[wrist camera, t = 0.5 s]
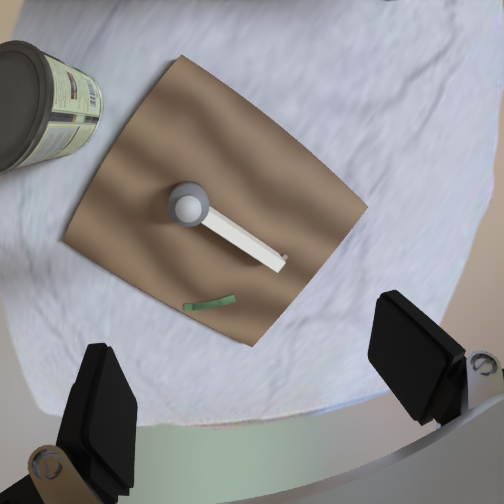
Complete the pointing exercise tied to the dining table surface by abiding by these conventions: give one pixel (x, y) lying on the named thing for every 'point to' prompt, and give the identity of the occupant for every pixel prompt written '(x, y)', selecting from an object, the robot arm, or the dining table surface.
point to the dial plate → (212, 205)
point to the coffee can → (43, 106)
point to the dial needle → (216, 222)
